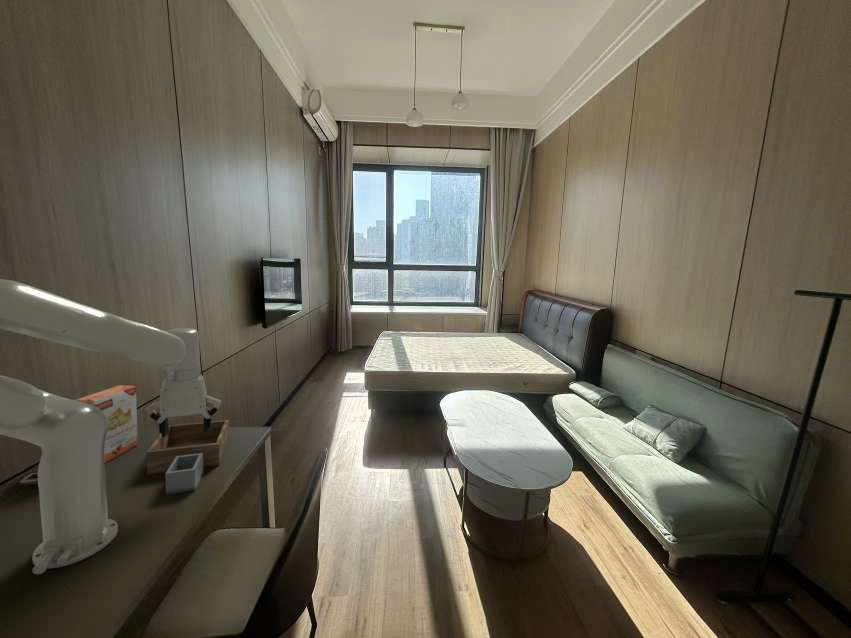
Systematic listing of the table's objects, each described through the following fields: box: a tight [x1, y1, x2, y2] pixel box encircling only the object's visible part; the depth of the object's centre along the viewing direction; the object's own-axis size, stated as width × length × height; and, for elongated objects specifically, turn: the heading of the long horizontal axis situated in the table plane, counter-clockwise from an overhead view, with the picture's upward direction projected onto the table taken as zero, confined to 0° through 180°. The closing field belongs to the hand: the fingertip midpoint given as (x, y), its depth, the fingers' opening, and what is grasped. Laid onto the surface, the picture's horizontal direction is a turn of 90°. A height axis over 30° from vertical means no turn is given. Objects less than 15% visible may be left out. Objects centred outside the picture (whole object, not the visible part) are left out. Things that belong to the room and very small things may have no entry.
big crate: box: [145, 419, 230, 476], centre depth 106 cm, size 18×18×7 cm
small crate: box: [164, 453, 204, 495], centre depth 93 cm, size 9×7×6 cm
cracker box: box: [75, 384, 138, 464], centre depth 102 cm, size 14×6×21 cm, turn 179°
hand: (186, 432), depth 92 cm, fingers open, 9 cm apart
